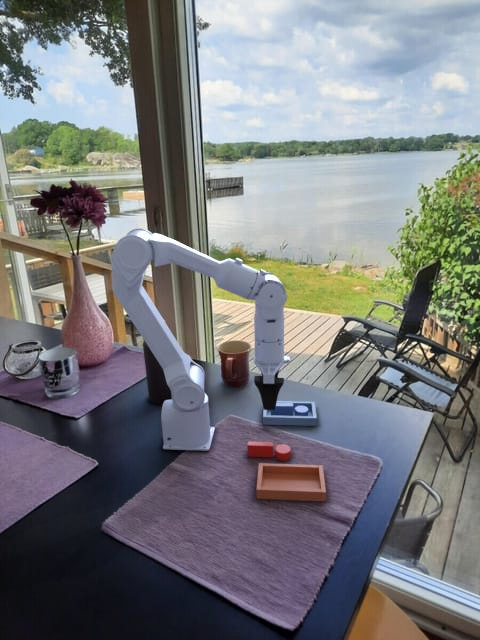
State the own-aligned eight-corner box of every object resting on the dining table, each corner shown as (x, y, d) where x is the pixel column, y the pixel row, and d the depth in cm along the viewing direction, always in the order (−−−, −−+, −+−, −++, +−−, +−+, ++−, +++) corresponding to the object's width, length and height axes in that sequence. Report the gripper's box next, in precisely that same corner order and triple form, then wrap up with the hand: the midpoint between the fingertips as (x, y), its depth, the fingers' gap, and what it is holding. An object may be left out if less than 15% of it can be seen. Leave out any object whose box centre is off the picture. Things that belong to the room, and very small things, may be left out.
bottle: (143, 402, 107) (134, 325, 101) (158, 389, 113) (151, 315, 106) (167, 407, 105) (159, 328, 98) (181, 393, 111) (175, 318, 104)
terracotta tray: (256, 498, 75) (256, 489, 74) (258, 471, 81) (258, 462, 81) (325, 501, 74) (326, 492, 73) (322, 473, 80) (322, 465, 80)
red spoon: (247, 459, 85) (246, 447, 84) (248, 449, 88) (248, 438, 87) (290, 460, 84) (290, 449, 83) (290, 451, 87) (290, 439, 86)
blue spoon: (270, 418, 98) (270, 407, 97) (271, 411, 101) (270, 400, 100) (308, 418, 97) (308, 408, 96) (307, 411, 100) (308, 401, 99)
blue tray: (262, 424, 96) (262, 417, 96) (264, 407, 103) (264, 400, 102) (316, 425, 95) (316, 418, 94) (314, 408, 102) (314, 401, 101)
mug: (223, 374, 120) (221, 339, 117) (255, 376, 118) (254, 341, 115) (212, 396, 109) (209, 358, 106) (246, 398, 107) (245, 360, 104)
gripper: (291, 352, 78) (290, 418, 83) (289, 324, 92) (288, 383, 96) (251, 351, 79) (252, 418, 83) (255, 324, 92) (256, 382, 97)
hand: (269, 399), depth 90 cm, fingers open, 7 cm apart
